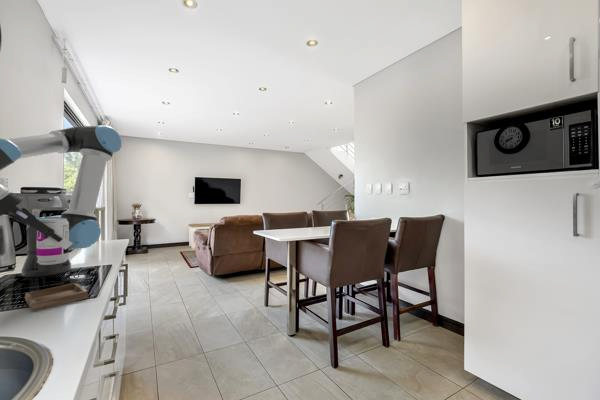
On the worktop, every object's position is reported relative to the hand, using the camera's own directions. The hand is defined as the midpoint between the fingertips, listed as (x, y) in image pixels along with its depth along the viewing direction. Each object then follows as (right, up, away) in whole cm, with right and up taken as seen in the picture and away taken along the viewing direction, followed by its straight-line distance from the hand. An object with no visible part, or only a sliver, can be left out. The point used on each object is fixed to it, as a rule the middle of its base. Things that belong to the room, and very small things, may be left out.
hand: (65, 244), depth 96 cm
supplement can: (-2, -6, -2) cm, 7 cm away
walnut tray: (+6, -15, -11) cm, 20 cm away
